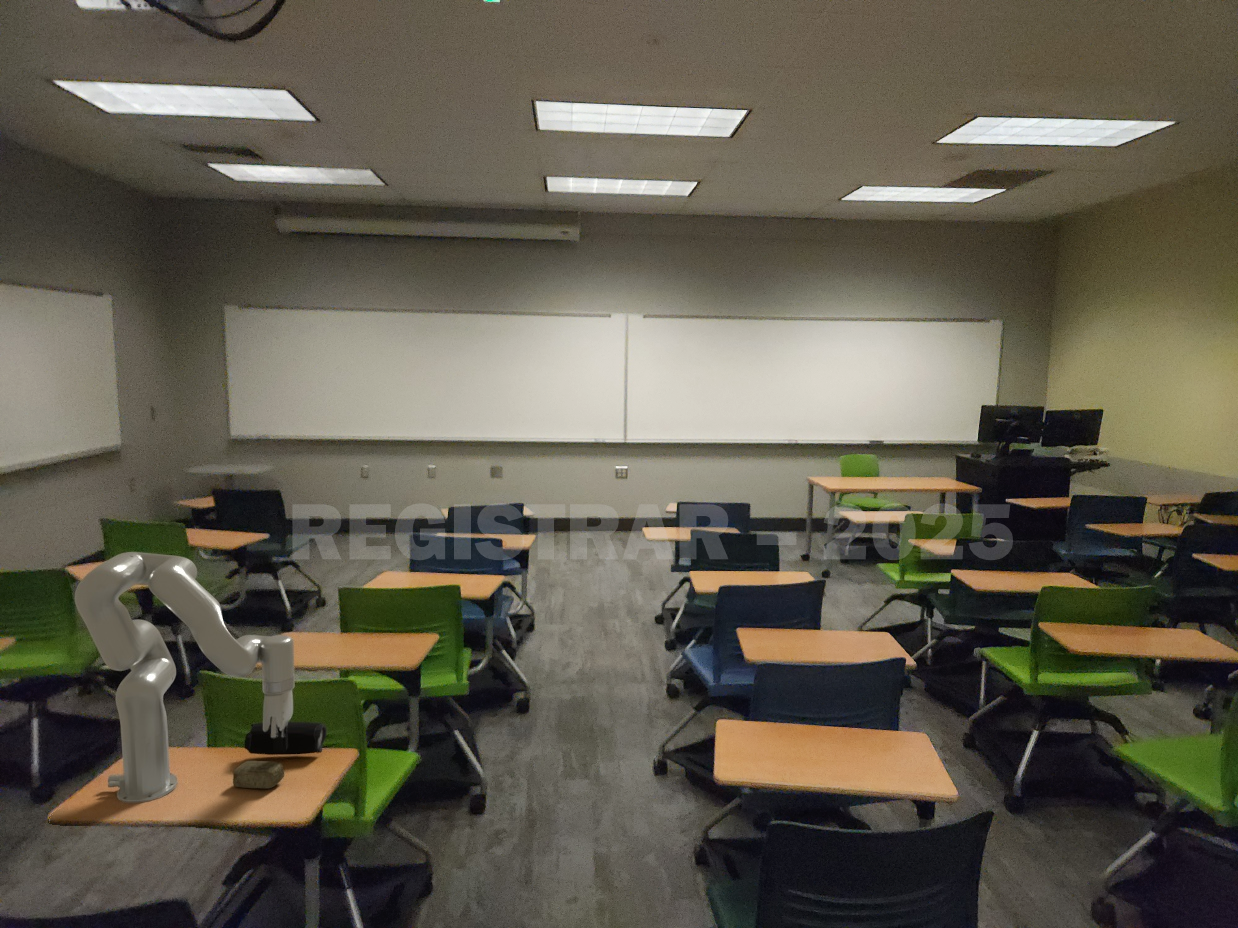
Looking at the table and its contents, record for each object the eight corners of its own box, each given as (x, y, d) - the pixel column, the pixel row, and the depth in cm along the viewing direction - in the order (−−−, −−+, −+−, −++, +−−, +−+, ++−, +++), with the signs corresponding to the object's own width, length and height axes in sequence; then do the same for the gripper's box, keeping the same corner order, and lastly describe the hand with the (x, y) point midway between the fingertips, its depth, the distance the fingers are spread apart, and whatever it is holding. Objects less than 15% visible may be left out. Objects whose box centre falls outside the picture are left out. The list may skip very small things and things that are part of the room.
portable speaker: (243, 730, 189) (318, 729, 192) (256, 716, 198) (327, 716, 201) (242, 761, 189) (317, 760, 192) (255, 745, 199) (326, 744, 201)
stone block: (273, 790, 176) (270, 772, 175) (231, 789, 178) (229, 771, 177) (286, 777, 182) (284, 759, 181) (246, 776, 183) (243, 758, 183)
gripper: (272, 672, 188) (274, 736, 190) (253, 696, 173) (255, 766, 175) (302, 671, 189) (303, 734, 191) (285, 695, 174) (287, 764, 176)
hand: (280, 749), depth 183 cm, fingers closed
